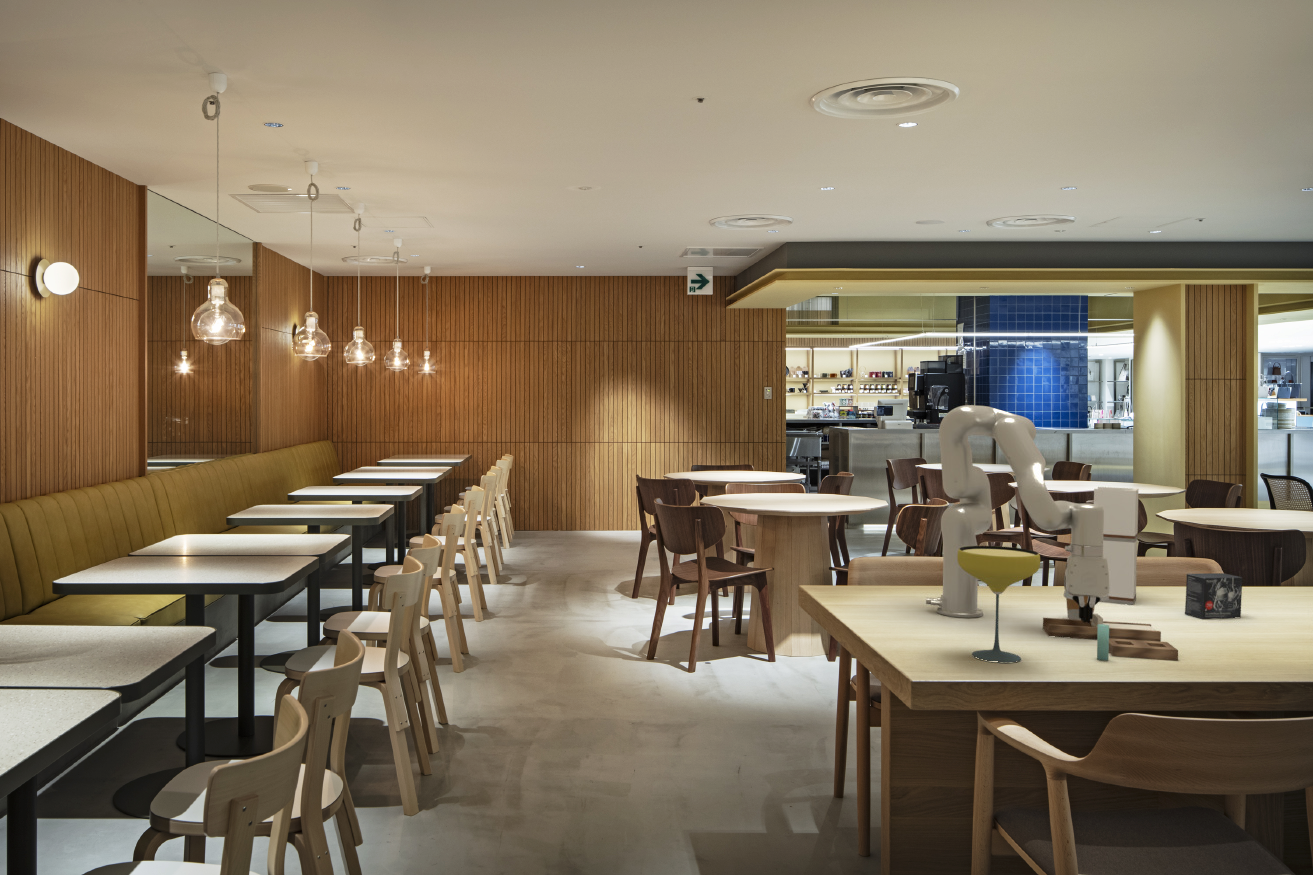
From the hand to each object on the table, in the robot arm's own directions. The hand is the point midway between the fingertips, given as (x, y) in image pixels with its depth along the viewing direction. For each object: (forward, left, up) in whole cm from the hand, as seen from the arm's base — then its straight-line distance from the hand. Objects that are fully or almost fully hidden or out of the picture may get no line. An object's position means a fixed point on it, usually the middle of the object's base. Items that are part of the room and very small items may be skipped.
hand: (1085, 621), depth 231 cm
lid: (+9, 0, -2) cm, 9 cm away
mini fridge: (+20, +53, -4) cm, 57 cm away
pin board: (+9, -17, -4) cm, 19 cm away
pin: (-1, -25, -4) cm, 25 cm away
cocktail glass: (-25, -30, -4) cm, 40 cm away
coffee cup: (+3, +18, -4) cm, 19 cm away
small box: (+42, +36, -4) cm, 55 cm away
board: (+3, 0, -4) cm, 5 cm away
